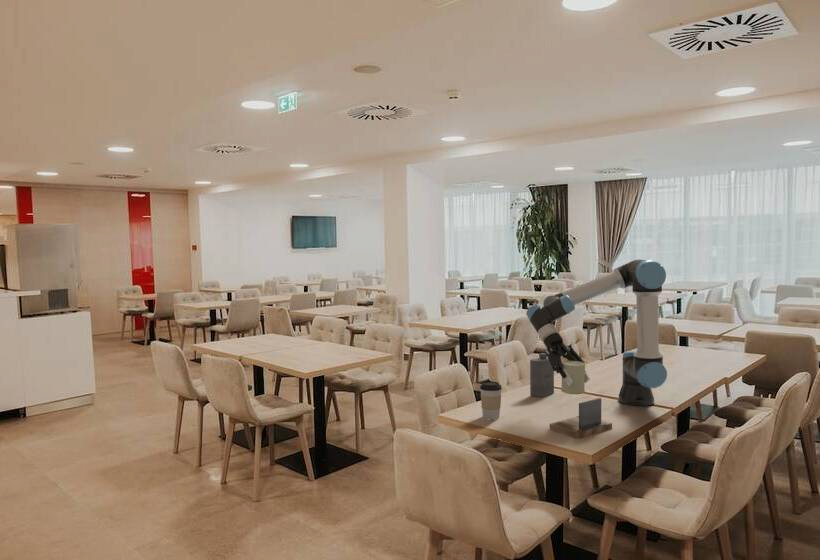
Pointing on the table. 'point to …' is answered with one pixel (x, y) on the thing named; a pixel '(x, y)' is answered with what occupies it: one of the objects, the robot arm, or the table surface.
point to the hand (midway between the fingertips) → (579, 382)
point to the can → (574, 377)
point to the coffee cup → (490, 399)
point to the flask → (541, 377)
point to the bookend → (590, 415)
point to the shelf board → (576, 427)
